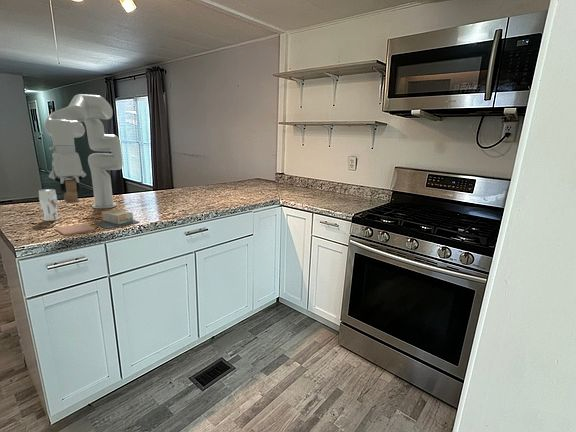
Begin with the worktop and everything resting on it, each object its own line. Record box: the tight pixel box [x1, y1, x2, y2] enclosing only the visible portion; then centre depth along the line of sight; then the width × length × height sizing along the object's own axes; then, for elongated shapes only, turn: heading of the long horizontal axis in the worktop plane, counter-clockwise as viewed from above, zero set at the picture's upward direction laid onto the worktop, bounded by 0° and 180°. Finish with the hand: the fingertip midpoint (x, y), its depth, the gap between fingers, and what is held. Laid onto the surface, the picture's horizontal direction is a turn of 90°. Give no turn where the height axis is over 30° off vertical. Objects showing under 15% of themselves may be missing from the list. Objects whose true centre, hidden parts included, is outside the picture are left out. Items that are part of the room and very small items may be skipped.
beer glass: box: [38, 188, 60, 222], centre depth 155 cm, size 7×7×15 cm
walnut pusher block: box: [63, 178, 79, 204], centre depth 137 cm, size 4×4×10 cm
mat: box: [94, 219, 140, 230], centre depth 155 cm, size 13×16×1 cm
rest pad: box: [55, 223, 96, 237], centre depth 142 cm, size 12×12×1 cm
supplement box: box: [101, 208, 134, 224], centre depth 156 cm, size 8×5×13 cm
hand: (70, 191), depth 137 cm, fingers closed on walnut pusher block, 4 cm apart
